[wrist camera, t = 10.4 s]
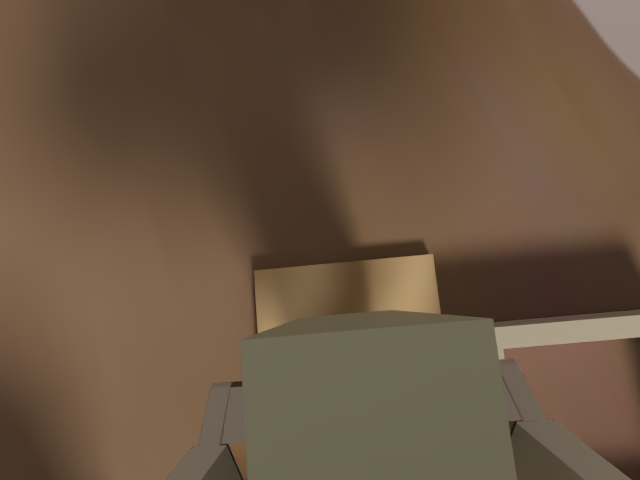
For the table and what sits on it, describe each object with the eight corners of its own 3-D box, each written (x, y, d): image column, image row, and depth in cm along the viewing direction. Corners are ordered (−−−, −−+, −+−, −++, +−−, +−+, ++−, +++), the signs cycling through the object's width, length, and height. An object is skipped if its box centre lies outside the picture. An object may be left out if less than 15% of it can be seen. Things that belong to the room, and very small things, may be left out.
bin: (658, 307, 23) (716, 308, 19) (710, 548, 21) (785, 597, 17) (457, 325, 23) (478, 328, 19) (490, 564, 21) (520, 615, 18)
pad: (429, 255, 24) (432, 253, 23) (454, 441, 22) (458, 446, 21) (256, 271, 24) (253, 270, 23) (268, 455, 22) (265, 461, 21)
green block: (391, 309, 20) (492, 318, 7) (402, 406, 19) (536, 604, 7) (300, 317, 20) (239, 339, 7) (307, 414, 19) (254, 625, 7)
